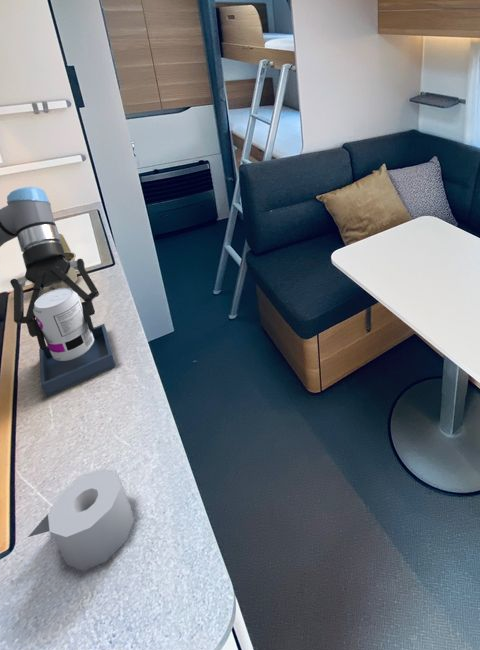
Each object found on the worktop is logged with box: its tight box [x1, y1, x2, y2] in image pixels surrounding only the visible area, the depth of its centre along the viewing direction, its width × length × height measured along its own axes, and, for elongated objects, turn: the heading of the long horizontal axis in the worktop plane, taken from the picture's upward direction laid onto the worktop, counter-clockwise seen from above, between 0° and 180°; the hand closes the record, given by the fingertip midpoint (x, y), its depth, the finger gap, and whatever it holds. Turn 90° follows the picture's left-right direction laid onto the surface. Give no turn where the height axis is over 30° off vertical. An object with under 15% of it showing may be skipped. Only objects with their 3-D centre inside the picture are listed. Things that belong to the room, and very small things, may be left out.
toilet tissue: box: [27, 467, 135, 572], centre depth 63 cm, size 9×13×9 cm
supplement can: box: [33, 287, 94, 361], centre depth 93 cm, size 8×8×15 cm
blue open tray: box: [38, 323, 117, 398], centre depth 97 cm, size 13×13×4 cm
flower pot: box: [51, 251, 78, 290], centre depth 125 cm, size 9×9×9 cm
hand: (68, 338), depth 92 cm, fingers closed on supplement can, 8 cm apart
